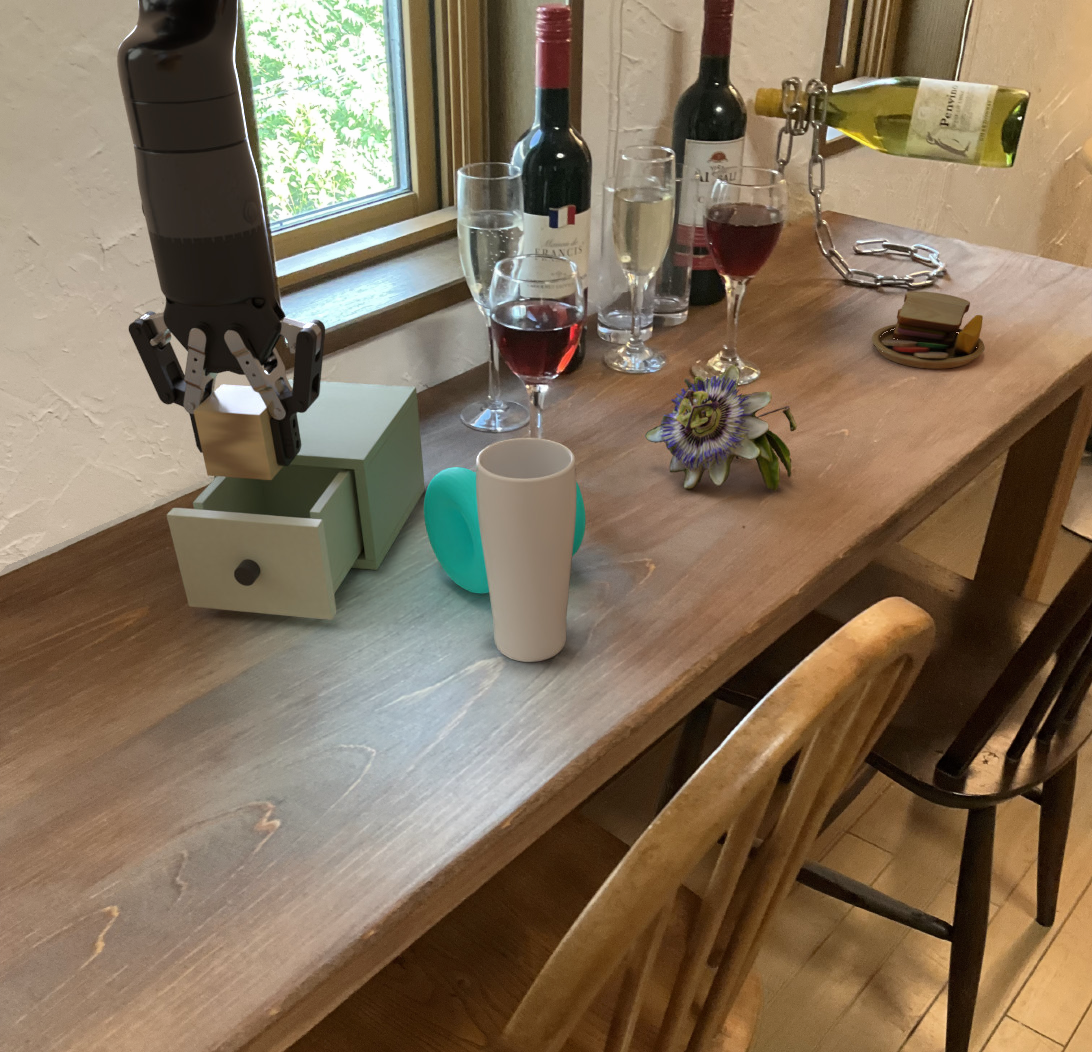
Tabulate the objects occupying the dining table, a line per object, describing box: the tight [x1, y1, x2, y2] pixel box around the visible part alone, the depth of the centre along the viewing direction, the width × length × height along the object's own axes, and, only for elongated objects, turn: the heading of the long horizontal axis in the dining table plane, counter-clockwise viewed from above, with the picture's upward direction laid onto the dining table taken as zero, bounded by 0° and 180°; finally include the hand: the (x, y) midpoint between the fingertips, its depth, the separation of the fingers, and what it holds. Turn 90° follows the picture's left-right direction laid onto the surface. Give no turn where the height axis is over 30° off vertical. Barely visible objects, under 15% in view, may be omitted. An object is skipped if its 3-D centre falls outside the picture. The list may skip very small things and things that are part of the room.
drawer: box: [166, 465, 364, 621], centre depth 89 cm, size 15×12×8 cm
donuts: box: [423, 466, 587, 594], centre depth 89 cm, size 10×10×10 cm
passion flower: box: [644, 363, 798, 492], centre depth 104 cm, size 11×11×12 cm
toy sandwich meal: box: [871, 291, 986, 370], centre depth 129 cm, size 12×14×5 cm
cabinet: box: [213, 378, 426, 571], centre depth 97 cm, size 15×13×10 cm
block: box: [194, 383, 283, 480], centre depth 83 cm, size 5×5×5 cm
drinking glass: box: [475, 437, 577, 663], centre depth 79 cm, size 7×7×15 cm
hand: (251, 458), depth 84 cm, fingers closed on block, 5 cm apart
